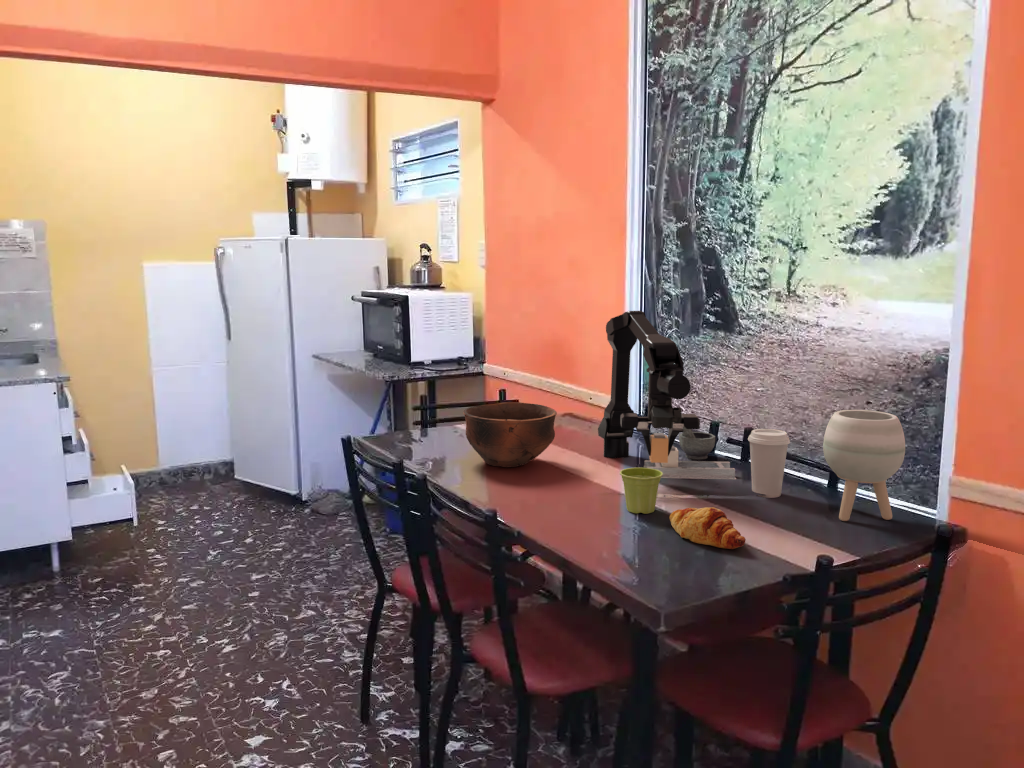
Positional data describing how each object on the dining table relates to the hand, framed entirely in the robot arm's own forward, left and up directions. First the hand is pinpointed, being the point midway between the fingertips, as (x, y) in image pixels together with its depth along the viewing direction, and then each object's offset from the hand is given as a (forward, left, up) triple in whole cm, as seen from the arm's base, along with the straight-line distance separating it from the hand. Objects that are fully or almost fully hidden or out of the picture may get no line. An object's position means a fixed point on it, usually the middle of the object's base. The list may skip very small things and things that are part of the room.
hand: (658, 455), depth 199 cm
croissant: (+6, -38, -8) cm, 39 cm away
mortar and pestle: (+13, +27, -8) cm, 31 cm away
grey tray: (+9, +10, -8) cm, 15 cm away
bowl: (-38, +19, -8) cm, 43 cm away
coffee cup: (+25, -6, -8) cm, 27 cm away
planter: (+41, -22, -8) cm, 47 cm away
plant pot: (-6, -21, -8) cm, 23 cm away
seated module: (+4, +10, -7) cm, 13 cm away
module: (0, 0, -1) cm, 1 cm away
